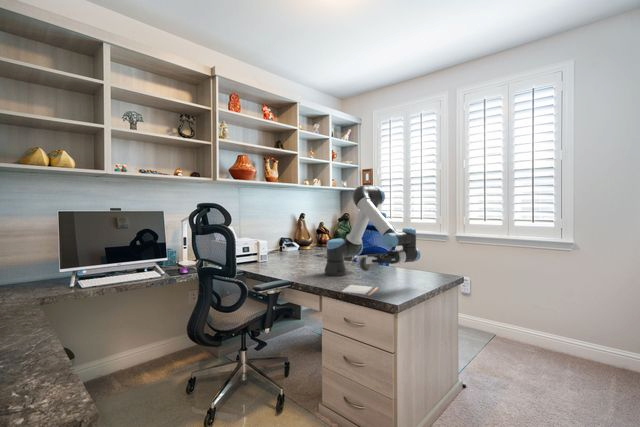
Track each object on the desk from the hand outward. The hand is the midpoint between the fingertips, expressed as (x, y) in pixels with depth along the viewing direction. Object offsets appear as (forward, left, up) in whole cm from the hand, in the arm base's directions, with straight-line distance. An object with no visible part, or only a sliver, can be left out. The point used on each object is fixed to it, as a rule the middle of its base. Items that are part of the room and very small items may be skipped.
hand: (361, 260), depth 174 cm
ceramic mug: (-4, +2, -6) cm, 8 cm away
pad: (-5, -4, -18) cm, 18 cm away
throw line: (-5, +5, -18) cm, 19 cm away
